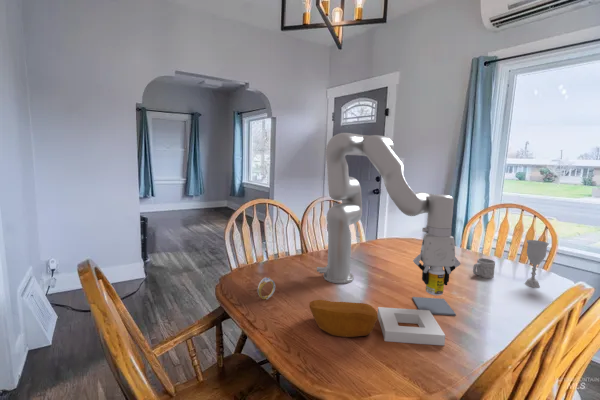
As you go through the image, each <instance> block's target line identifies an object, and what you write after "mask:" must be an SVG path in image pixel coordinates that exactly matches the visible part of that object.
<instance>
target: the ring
mask: <svg viewBox="0 0 600 400" xmlns="http://www.w3.org/2000/svg"><path fill="white" fill-rule="evenodd" d="M267 283H270V284H271V292H270V293H269V294H268V295H265V296H262V289H263V287H265V285H267ZM275 291H276V283H275V281H274V280H273V279H271V277H270V276H268V277H267V276H264V277H263V278H262V279H261V280H260V281H259V283H258V287H257V295H258V296H259V298H261V299H262V300H269V299H270V298H271V297H272V296H273V295H274V293H275Z"/></svg>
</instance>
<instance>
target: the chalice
mask: <svg viewBox="0 0 600 400" xmlns="http://www.w3.org/2000/svg"><path fill="white" fill-rule="evenodd" d="M526 243H527V247H526V248H527V249H526V256H527V259H528V260H529V262H530V263H531V265H532V268H531V270H532V271H531V272H530V274H531V277H528V278H527V279H526V281H525V282H524V285H526V286H527V287H532V288H541V285H540V283H539V281H538V279H536V275H537V273H536V271H537V270H538V269H537V265H538V266H539V265H540V264H541V263H542V262H543V261H544V260H545V258H546V256H547V250H548V248H547V247H548V246H549V245H550V243H548V242H546V241H542V240H536V239H528V240H526Z"/></svg>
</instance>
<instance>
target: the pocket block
mask: <svg viewBox="0 0 600 400" xmlns="http://www.w3.org/2000/svg"><path fill="white" fill-rule="evenodd" d="M377 314H378V318H377V320H378V322H379V325H380V329H381V332H382V336H383V340H384V342H389V343H390V342H391V343H393V342H394V343H403V344H404V343H405V344H418V345H430V346H431V345H432V346H445V343H446V334H445V332H444V331H443V329H442V328H441V326H440V324H439V323H438V322H437V320H436V318H435V317H434V314H431V312H430V310H419V309H416V308H415V309H414V308H413V309H412V308H411V309H410V308H399V307H395V308H394V307H383V306H382V307H381V306H378V307H377ZM399 323H402V324H416V325H418V326H403V325H399Z"/></svg>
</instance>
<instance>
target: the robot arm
mask: <svg viewBox="0 0 600 400" xmlns="http://www.w3.org/2000/svg"><path fill="white" fill-rule="evenodd" d="M394 145H395V144H394V143H393V141H392V139H391V138H390V137H388V136H385V135H379V134H372V135H370V134H369V135H365V134H359V133H358V134H357V133H350V132H340V133H337V134H335V135H333V136H332V137H331V138H330V139H329V140H328V142H327V144H326V148H325V158H326V159H325V161H326V168H327V169H326V170H327V185H328V186H327V187H328V188H327V189H328V194H329V198H331V200H333V201H339V202H340V201H341V203H338V204H334V205H332V206H331V207H330V208H329V209H328V210H327V213H326V223H327V231H328V232H327V233H328V236H327V237H328V238H327V264H326V266H324V267H323V266H322V267H321V266H317V267H316V272H319V274H323V279H324V280H325V281H327V282H329V283H333V284H338V285H339V284H343V285H344V284H348V283H351V282H353V281H354V278H355V276H354V275H353V273H351V259H352V256H351V255H352V232H351V229H350V226H351V225H354V224H356V223H358V222H360V220H361V219H362V215H363V202H362V201H363V198H362V186H361V184H360V182H359V180H358V179H356V177H353V176H350V175H349V174H350V173H349V165H348V162H347V158H346V156H347V155H348V156H363V157H366V158H367V159H368V160H369V161H370V163H371V164H372V166H374V168H375V169H376V170H377V172H378V173H379V175H380V177H381V178H382V180H383V183H384V186H385V190H386V192H387V194H388V196H389V198H390V199H391V200H392V202H393V203H394V204H395V206H396V207H397V208H398V209H399V211H400V212H401V213H403V214H404V215H406V216H409V217H416V216H419V215H421V214H427V218H426V219H427V221H426V226H425V227H422V228H421V229H422V230H421V231H422V232H424V234H423V239H422V243H421V248H420V253H419V254H418V255H417V256H415V258H413V259H412V262H413V263H414V264H415V265H416V266H417V267H418V268H419V269H420V270H421V271H422V273H421V275H422V276H421V280H422V282H423V283H424V284H425V285H426V284H428V277H429V273H428V269H429V268H430V266H440V267H443V270H444V271H445V277H444V286H448V283H449V282H450V275H451V274H452V272H454V270H456V269H457V267H459V266H461V262H460V261H459V260H458V258H457V257H456V245H455V239H454V236H452V228H453V216H454V203H455V201H454V198H453V196H451V195H448V194H442V193H441V194H434V193H428V192H424V191H418V192H415V191H414V190H413V189H412V188H411V187H410V185H409V184H408V182H407V181H406V178H405V176H404V163H403V162H402V161H401V160H400V158H399V157H398V155H397V154H396V153H395V151H394V150H395V146H394ZM420 261H421V262H422V263H420Z"/></svg>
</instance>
